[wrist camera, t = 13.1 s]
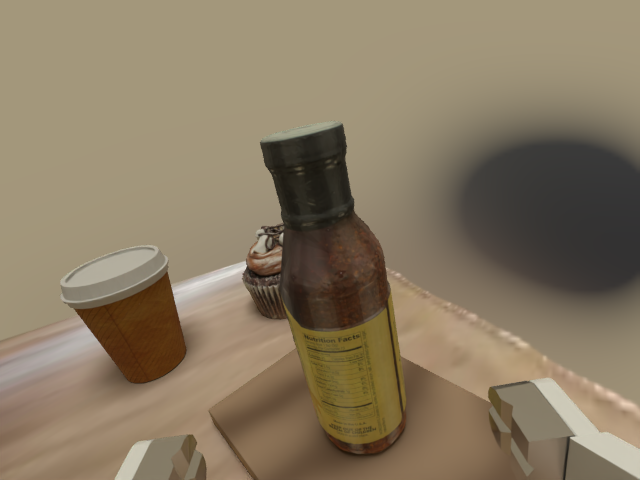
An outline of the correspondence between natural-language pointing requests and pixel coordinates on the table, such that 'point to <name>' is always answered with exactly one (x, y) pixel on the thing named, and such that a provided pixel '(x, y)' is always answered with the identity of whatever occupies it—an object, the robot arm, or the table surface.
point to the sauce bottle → (336, 292)
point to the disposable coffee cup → (129, 310)
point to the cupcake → (266, 271)
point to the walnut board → (349, 468)
